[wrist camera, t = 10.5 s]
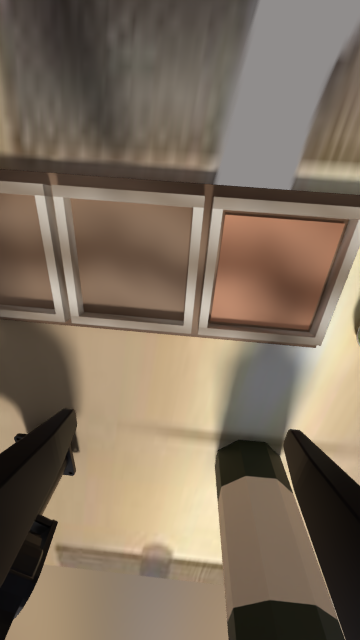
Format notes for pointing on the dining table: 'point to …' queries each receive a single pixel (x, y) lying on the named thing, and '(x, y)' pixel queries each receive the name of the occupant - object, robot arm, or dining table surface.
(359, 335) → the beverage can
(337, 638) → the wine bottle
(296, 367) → the dining table surface
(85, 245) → the board
